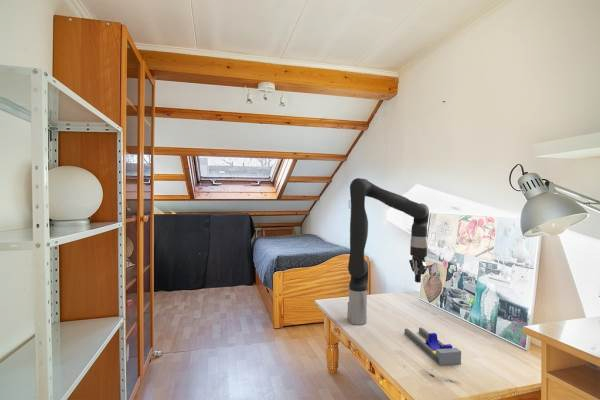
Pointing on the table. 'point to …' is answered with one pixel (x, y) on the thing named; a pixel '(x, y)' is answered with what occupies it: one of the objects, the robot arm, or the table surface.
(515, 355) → the table surface
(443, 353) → the grey u-shaped bracket
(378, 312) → the table surface
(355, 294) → the robot arm
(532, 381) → the table surface
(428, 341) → the blue u-shaped block
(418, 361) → the table surface
